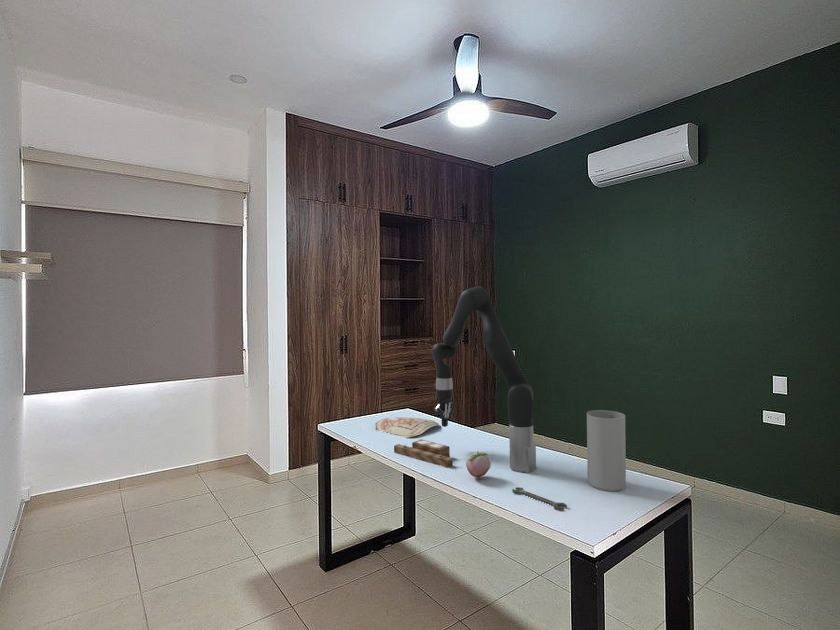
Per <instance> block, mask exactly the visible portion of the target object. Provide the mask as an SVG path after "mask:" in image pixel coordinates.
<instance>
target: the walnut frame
mask: <svg viewBox="0 0 840 630" xmlns="http://www.w3.org/2000/svg"><path fill="white" fill-rule="evenodd" d="M411 445H412V446H411V447H412V448H416V449H419V450H423V451H427V452H431V453H435V454H439V455H442V456H446V457H450V458H451V456H450V454H451V453H450V451H451V450H450V448H451V447H450V446H449V445H446V444H441V443H437V442H433V441H429V440H425V439H419V440H416V441H412V443H411Z"/></svg>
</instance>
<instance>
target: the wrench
mask: <svg viewBox="0 0 840 630" xmlns="http://www.w3.org/2000/svg"><path fill="white" fill-rule="evenodd" d="M511 490H512V491H511V492H513V493H514V494H513V493H512V494H513V495H521V494H522V495H521V496H523V495H525V496H524V497H526V496H528V497H527V498H529V497H530V498H529V499H531V498H533V499H532V500H534V499H535V501H537V500H538V501H537V502H539V501H541V502H540V503H542V502H544V503H543V504H545V503H546V504H545V505H547V504H549V505H548V506H550V505H551V506H550V507H552V506H553V507H554V508H553V507H552V508H553V510H555V511H558V510H559V512H562V511H563V512H564V511H565V509H566V510H567V509H568V505H567V504H565V503H564V502H557V501H553V500H551V499H549V498H547V497H546V498H545V497H544V496H539V495H537V494H534V493H532V492H530V491H527V490H525V489H524V487H519V486H518V487H517V486H516V487H515V489H514V488H512V489H511Z"/></svg>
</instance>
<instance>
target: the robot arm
mask: <svg viewBox="0 0 840 630" xmlns="http://www.w3.org/2000/svg"><path fill="white" fill-rule="evenodd" d="M476 311H477V312H478V313H479V316H480V318H481V320H482V326H483V327H482V329H483V330H482V333H483V334H482V335H483V344H484V346H485V348H486V351H487V352H488V355H489V357H490V359H491V360H492V362H493V363H494V365H495V366H496V367H497V369H498V370H499V371H500V372H501V374H502V376H503V377H504V379H505V382H506V384H507V387H508V389H509V390H508V393H507V417H508V424H509V425H508V427H509V430H508V431H509V434H508V435H509V436H508V437H509V468H510V469H511V470H512V471H514V472H520V473H527V474H528V473H530V472H532V471H534V470H535V469H537V452H536V451H537V445H536V444H535V443H534V438H535V437H534V417H533V416H534V415H533V399H534V390H533V388H532V386H531V385H530V383H529V381H528V380H527V377H526V376H525V374H524V373H523V371H522V369H521V367H520V365H519V362H518V360H517V357H516V355H515V352H514V350H513V348H512V345H511V343H510V342H509V339H508V337H507V334H506V333H505V332H504V329H503V326H502V324H501V323H500V320H499V318H498V316H497V313H496V311H495V308H494V304H493V303H492V300H491V297H490V294H489V293H488V291H487V289H485V288H484V287H482V286H474V287H471V288H468V289H465V290H463V291H462V292H461V294H460V296H459V298H458V302H457V304H456V307H455V309H454V313H453V316H452V318H451V320H450V323H449V324H448V327H446V328H447V329H446V331H445V332H444V334H443V336H442V341H443V342H440V343H435V344H433V346H432V348H431V354H432V357H433V358H432V359H433V362H434V365H435V373H436V374H435V378H436V379H435V398H436V399H437V403H436V404H437V406H435V407H433V410H434V413H435V414H436V415H437V417H438V418H441V427H443V428H444V427H445V428H446V427H448V426H449V425H448V424H449V417H451V416H452V413H453V411H454V409H455V405H456V404H455V403H453V402H452V399H453V398H454V397H453V396H454V395H453V392H454V391H453V388H454V387H453V384H454V382H453V368H452V365H451V364H449V363H445V361H444V360H447V359H452V358H453V357H455V356H456V354H457V349H458V344H459V342H460V340H461V338H462V337H463V334H464V332H465V329H466V321H467V319H468V317H469V316H470V315H471V314H472V313H474V312H476Z"/></svg>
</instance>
